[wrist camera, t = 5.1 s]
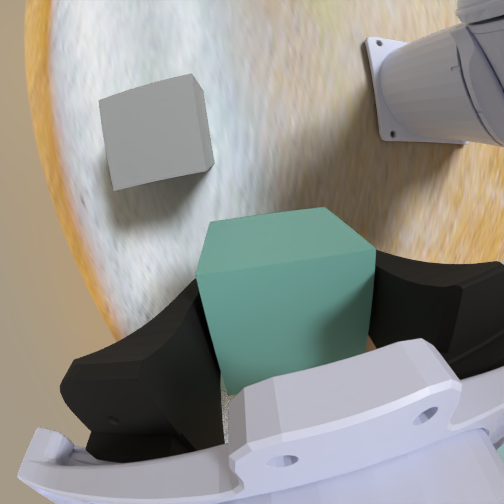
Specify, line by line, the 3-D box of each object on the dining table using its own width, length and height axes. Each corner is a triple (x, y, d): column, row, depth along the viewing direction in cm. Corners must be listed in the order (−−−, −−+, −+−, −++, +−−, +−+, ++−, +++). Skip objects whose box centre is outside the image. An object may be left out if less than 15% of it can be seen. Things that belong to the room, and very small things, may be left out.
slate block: (203, 90, 16) (191, 73, 11) (214, 163, 18) (206, 171, 13) (131, 108, 16) (98, 100, 11) (142, 177, 18) (113, 191, 13)
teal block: (324, 206, 12) (376, 248, 7) (326, 303, 14) (361, 372, 9) (210, 221, 12) (195, 274, 7) (228, 318, 14) (227, 395, 9)
